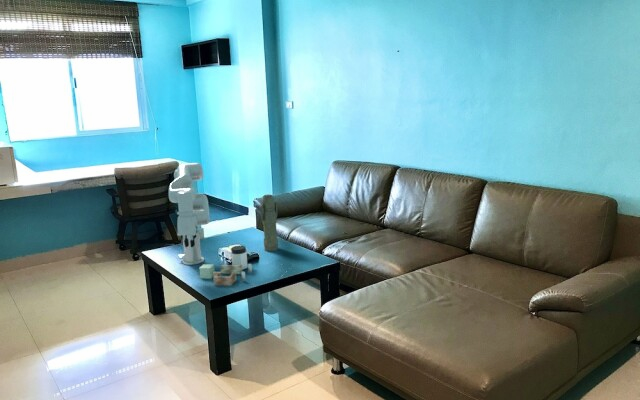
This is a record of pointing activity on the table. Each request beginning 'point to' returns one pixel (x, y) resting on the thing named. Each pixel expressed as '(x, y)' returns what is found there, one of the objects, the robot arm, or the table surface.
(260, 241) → the table surface
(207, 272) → the block
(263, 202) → the olive brown statue
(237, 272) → the tunnel
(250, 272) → the goal posts
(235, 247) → the jar
